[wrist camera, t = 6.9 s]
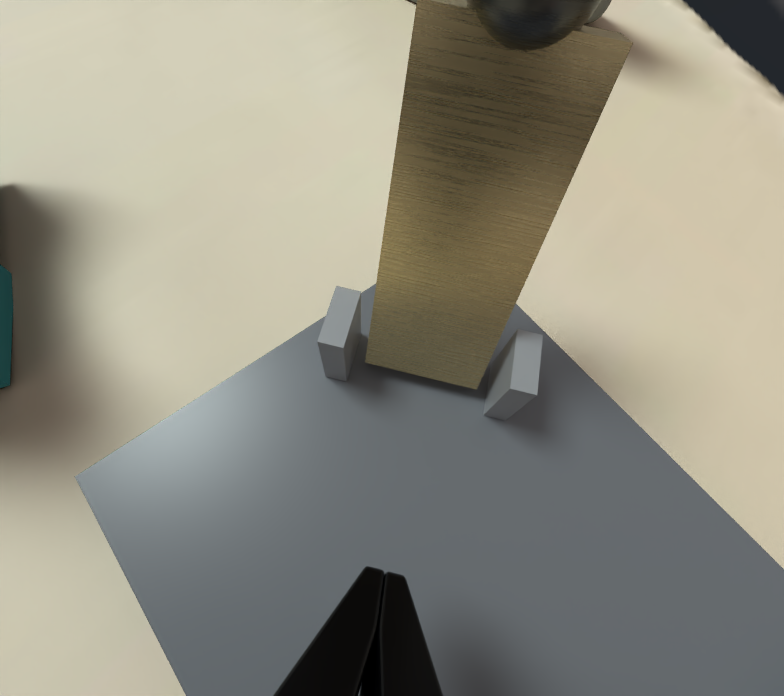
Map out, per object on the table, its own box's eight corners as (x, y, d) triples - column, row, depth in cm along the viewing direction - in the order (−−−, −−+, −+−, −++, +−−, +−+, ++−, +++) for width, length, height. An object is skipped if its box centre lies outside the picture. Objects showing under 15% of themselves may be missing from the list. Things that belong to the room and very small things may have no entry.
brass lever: (475, 405, 14) (723, -126, 6) (360, 376, 14) (436, -181, 6) (479, 352, 16) (670, -109, 8) (376, 327, 16) (453, -153, 8)
